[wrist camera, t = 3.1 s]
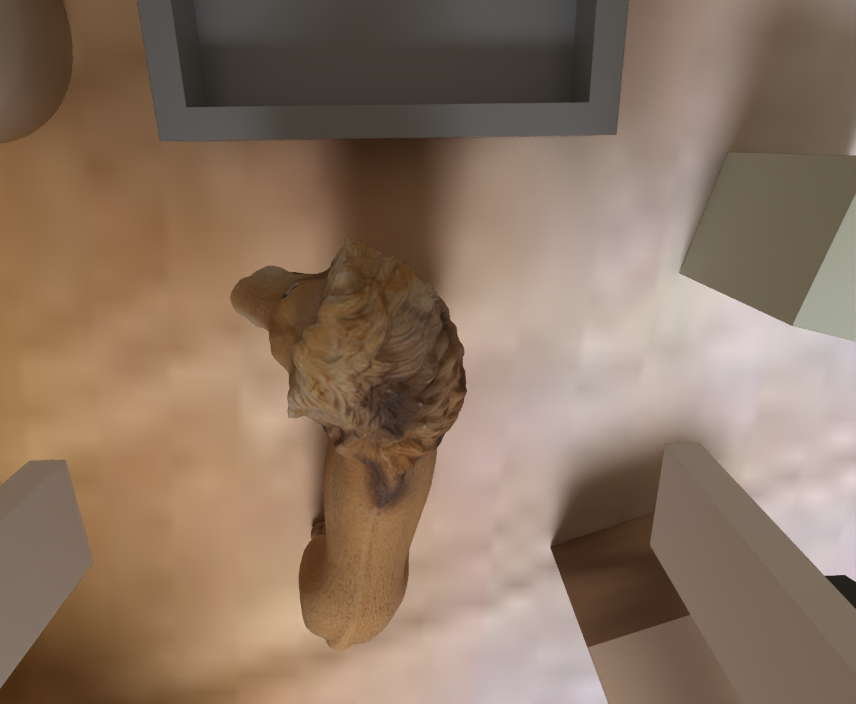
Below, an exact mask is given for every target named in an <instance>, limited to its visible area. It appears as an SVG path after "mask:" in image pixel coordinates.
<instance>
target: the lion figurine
mask: <svg viewBox="0 0 856 704" xmlns="http://www.w3.org/2000/svg"><path fill="white" fill-rule="evenodd" d="M230 300H231V304H232V306H233V308H234V309H235V311H236V312H238V313H240V314H242V315H243V316H245V317H246V318H247V319H248V320H249V321H250V322H252V323H253V324H255V325H256V326H259V327H261V328H264V329H266V330H267V331H269V340H270V344H271V352H272V355H273V357H274V358H275V359H276V360H277V361H278V362H279V363H280V364H281V365H282V366H283V367H284V368H285V369H286V370H287V371H288V373H289V386H290V389H289V391H288V397H287V399H288V404H289V406H288V417H289V418H298V417H301V416H304V415H306V416H307V417H309V418H311V419H313V420H315V421H316V422H318V423H319V424H321V425H322V426H323V428H324V430H325V432H326V433H327V434H328V435H329V437H330V441H329V444H328V447H327V453H326V459H325V465H324V492H323V496H324V515H325V521H321V522H318V523H317V524H316V525H315V526H314V527H313V528H312V531H311V539H312V540H311V541H310V542H309V544H308V545H307V547H306V548H305V550H304V553H303V556H302V560H301V564H300V570H299V590H300V602H301V608H302V616H303V620H304V623H305V625H306V627H307V628H308V629H309V630H310V631H311V632H312V633H314V634H315V635H317V636H320V637H322V638H324V639H325V640H326V642H327V644H328V646H329V647H330V648H332V649H333V650H337V651H340V650H345V649H347V648H349V647H350V646H352V645H353V644H357V643H364V642H367V641H369V640H371V639H372V638H373V637H375V636H376V635H378V634H379V633H380V632H381V631H383V629H384V628H385V627H386V626H387V625H388V623H389V622H390V620H391V619H392V617H393V615H394V614H395V612H396V611H397V609H398V607H399V606H400V604H401V602H402V600H403V598H404V595H405V591H406V587H407V581H408V575H409V562H408V560H409V548H410V545H411V542H412V539H413V537H414V534H415V531H416V528H417V525H418V522H419V519H420V517H421V514H422V511H423V508H424V505H425V503H426V500H427V497H428V494H429V491H430V487H431V483H432V478H433V473H434V468H435V462H436V454H437V447H438V446H439V444H440V443H441V441H442V438H443V436H444V434H445V433H446V432H447V431H448V430H449V429H450V428H451V426H452V425H453V424H454V422H455V421H456V419H457V418H458V414H459V412H460V410H461V408H462V406H463V402H464V396H465V395H466V392H467V389H466V376H465V370H464V368H463V356H464V347H463V345H462V344H461V342H460V341H459V338H458V335H457V327H456V326H455V324H454V323H453V322H452V321H451V320H450V315H449V309H448V307H447V306H446V304H445V303H444V301H443V300H442V299H441V298H440V297H439V295H438V294H437V292H435V291H434V288H433V286H432V285H430V284H429V283H428V282H426V281H423V280H420V279H418V277H417V276H416V274H415V273H414V272H413V271H412V268H411V266H410V265H408V264H406V263H404V262H403V261H402V260H400V259H399V258H396V257H395V256H391V257H389V256H387V255H386V254H385V253H383V252H381V251H379V250H376V249H373V248H370V246H369V245H368V244H367V243H365V242H360V241H355V240H352V239H345V241H344V247H343V248H342V249H341V250H340V251H339V253H338V254H337V256H336V257H335V259H334V260H333V262H332V264H331V267H330V268H329V269H328V270H326V271H324V272H322V273H319V274H304V273H296V272H288V271H286V270H284V269H282V268H280V267H277V266H266V267H264V268H262V269H260V270H258V271H256V272H255V273H254V274H252V275H251V276H249V277H246V278H243V279H241V280H240V281H239V282H238V283H237V284H236V286H235V287H234V289H233V290H232V292H231V296H230Z"/></svg>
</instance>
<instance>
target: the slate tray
mask: <svg viewBox="0 0 856 704" xmlns="http://www.w3.org/2000/svg"><path fill="white" fill-rule="evenodd" d="M628 2H629V0H137V4H138V10H139V17H140V23H141V29H142V35H143V41H144V47H145V54H146V60H147V66H148V72H149V78H150V84H151V90H152V97H153V103H154V109H155V115H156V121H157V127H158V133H159V140H160V141H249V140H319V139H389V138H459V137H529V136H591V135H616V132H617V122H618V111H619V100H620V89H621V78H622V67H623V56H624V45H625V35H626V24H627V13H628Z"/></svg>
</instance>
